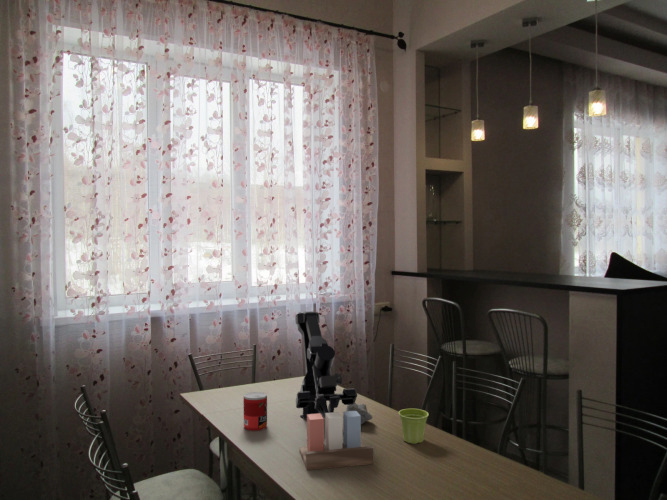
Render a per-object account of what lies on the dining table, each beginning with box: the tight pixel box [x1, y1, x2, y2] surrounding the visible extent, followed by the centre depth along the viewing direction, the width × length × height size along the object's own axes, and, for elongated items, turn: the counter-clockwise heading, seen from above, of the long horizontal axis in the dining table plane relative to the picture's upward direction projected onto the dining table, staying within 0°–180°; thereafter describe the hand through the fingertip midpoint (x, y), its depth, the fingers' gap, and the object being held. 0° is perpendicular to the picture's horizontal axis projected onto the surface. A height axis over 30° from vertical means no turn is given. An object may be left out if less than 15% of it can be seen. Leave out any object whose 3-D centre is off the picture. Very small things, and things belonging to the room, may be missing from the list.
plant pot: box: [398, 408, 429, 445], centre depth 169 cm, size 9×9×9 cm
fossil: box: [345, 402, 373, 425], centre depth 185 cm, size 11×9×8 cm
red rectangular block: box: [306, 413, 325, 452], centre depth 156 cm, size 5×4×10 cm
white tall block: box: [324, 411, 343, 450], centre depth 157 cm, size 5×4×10 cm
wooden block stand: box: [299, 441, 374, 471], centre depth 155 cm, size 13×19×4 cm
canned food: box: [243, 391, 268, 432], centre depth 182 cm, size 8×8×11 cm
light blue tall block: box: [342, 411, 362, 448], centre depth 158 cm, size 5×4×10 cm
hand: (330, 423), depth 162 cm, fingers closed
